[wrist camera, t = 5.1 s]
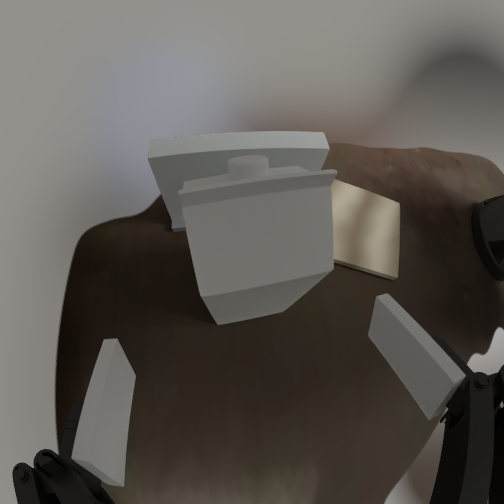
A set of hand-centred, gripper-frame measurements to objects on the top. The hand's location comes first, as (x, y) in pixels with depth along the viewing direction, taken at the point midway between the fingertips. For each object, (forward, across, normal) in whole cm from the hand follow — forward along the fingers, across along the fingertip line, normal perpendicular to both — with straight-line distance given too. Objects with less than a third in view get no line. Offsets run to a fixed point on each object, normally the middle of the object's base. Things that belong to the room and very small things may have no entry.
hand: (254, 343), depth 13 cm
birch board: (+18, +17, -3) cm, 25 cm away
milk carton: (+15, +1, -6) cm, 17 cm away
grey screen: (+21, +2, 0) cm, 21 cm away
